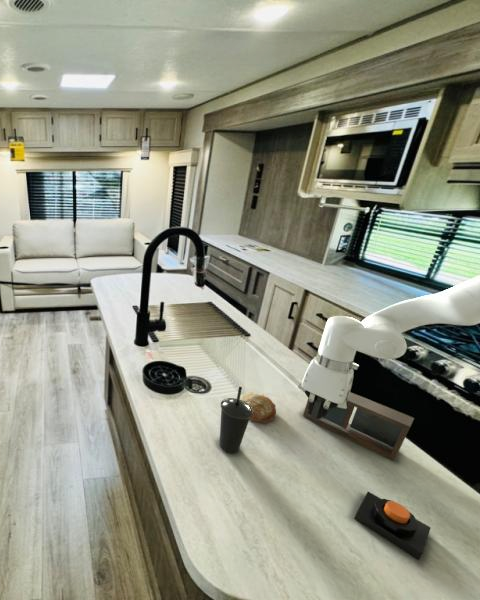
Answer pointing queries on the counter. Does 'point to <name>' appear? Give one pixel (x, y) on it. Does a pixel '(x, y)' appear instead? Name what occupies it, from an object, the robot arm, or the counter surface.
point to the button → (396, 512)
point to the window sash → (333, 413)
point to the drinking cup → (233, 422)
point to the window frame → (372, 426)
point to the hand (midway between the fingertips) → (316, 414)
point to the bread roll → (260, 407)
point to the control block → (393, 526)
